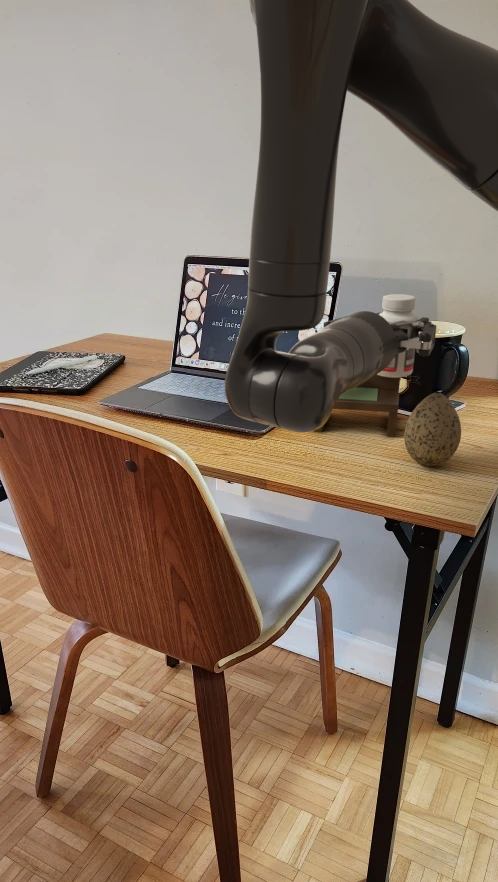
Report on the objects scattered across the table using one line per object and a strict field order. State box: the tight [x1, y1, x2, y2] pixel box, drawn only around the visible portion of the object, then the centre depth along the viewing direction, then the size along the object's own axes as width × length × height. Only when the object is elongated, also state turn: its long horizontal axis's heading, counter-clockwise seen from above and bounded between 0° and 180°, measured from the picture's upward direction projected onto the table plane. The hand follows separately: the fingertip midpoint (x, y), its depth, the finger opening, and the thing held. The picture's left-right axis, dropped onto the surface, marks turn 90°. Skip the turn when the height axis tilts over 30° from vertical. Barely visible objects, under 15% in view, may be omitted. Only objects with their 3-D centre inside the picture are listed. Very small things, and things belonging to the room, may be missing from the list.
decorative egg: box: [403, 392, 462, 467], centre depth 90 cm, size 7×7×10 cm
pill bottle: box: [377, 293, 419, 378], centre depth 89 cm, size 5×5×10 cm
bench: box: [313, 374, 401, 438], centre depth 105 cm, size 12×8×8 cm, turn 76°
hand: (402, 323), depth 90 cm, fingers closed on pill bottle, 5 cm apart
